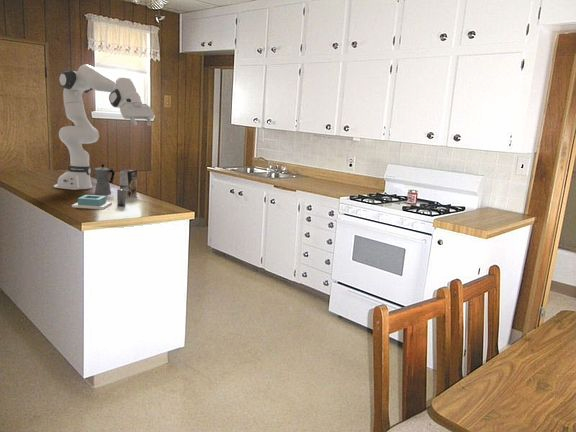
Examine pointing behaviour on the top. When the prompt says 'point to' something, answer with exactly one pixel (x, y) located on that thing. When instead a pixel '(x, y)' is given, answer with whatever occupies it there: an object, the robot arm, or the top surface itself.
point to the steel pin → (120, 197)
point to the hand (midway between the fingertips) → (143, 124)
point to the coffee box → (129, 182)
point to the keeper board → (92, 202)
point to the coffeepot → (103, 180)
